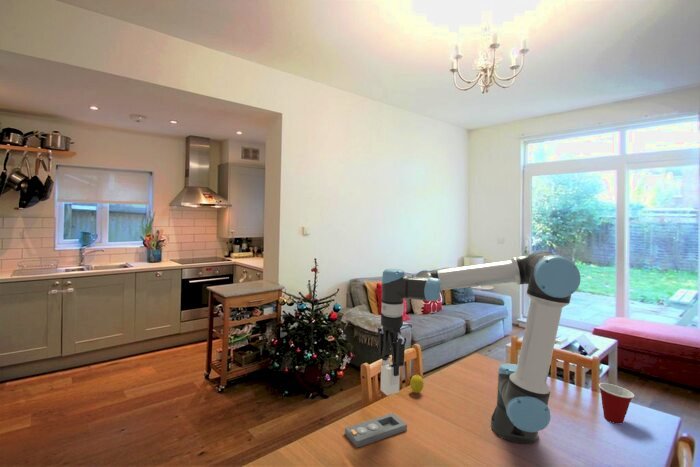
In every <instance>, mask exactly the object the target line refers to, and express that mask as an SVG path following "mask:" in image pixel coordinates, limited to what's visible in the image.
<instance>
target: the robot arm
mask: <svg viewBox="0 0 700 467" xmlns="http://www.w3.org/2000/svg"><path fill="white" fill-rule="evenodd" d="M507 283H509V284H510V283H515V284H516V285H527V290H526V295H527V296H528V298H529V300H530V302H529V308H528V312H527V316H526V321H525V327H524V330H523V331H524V332H523V336H522V341H521V345H520V350H519V355H518V360H517V364H516V363H502V364H500V365H499V366H498V372H497V374H498V375H497V376H498V378H497V395H496V396H497V397H496V406H495V408H494V410H493V412H492V415H491V418H490V428H491V430H492V431H493V432H494V433H495V434H496V435H497V436H498V437H500V438H502V439H504V440H506V441H509V442H512V443H515V444H519V445H520V444H522V445H528V444H529V445H530V444H533V443H535V442H536V441H537V440H538V437H539V436H538V435H539V431H544V430H545V429H546V428H547V427H548V426H549V424H550V422H551V418H552V416H551V410H550V408H549V406H548V404H549V400H550V395H551V391H552V390H551V387H550V385H548V383H547V380H548V377H549V372H550V367H551V363H552V358H553V354H554V353H553V352H554V347H555V343H556V340H557V334H558V331H559V330H558V329H559V324H560V321H561V316H562V315H561V314H562V310H563V308H564V307H566V306H568V305H570V303H571V298H572V295H573V294H574V293H576V291H577V290H578V288H579V287H580V285H581V273H580V270H579V268H578V266H577V265H576V264H575V263H574V262H573V261H572V260H571V259H569V258H567V257H566V256H563V255H560V254H555V253H553V252H547V251H540V252H534V253H530V254H523V255H519V256H512V258H511V259H510V260H503V261H495V262H487V263H481V264H473V265H465V266H457V267H449V268H442V269H437V270H436V269H434V270H426V269H423V270H420V271H419V272H417V274H415V276H409V275H408V276H407V275H406V274H405V271H404V270H403V269H398V268H386V269H384V270H383V271H382V278H381V309H380V310H381V315H380V326H382V327H378V328H377V332H378V356H379V357H380V358H381V360H382V363H381V365H383V364H388V363H389V362H392V365H391V378H390V385H395V384H398V376H399V367H400V368H401V367H404V365H405V349H406V348H405V347H406V342H407V337H403V336H402V332H401V328H402V327H403V325H404V316H403V315H404V307H405V306H404V303H405V302H404V299H406V300H407V299H408V300H416V301H417V300H418V301H427V302H431V301H433V302H436V301H437V302H438V301H439V300H440V298H441V291H448V290H453V289H454V290H455V289H465V288H473V287H474V288H475V287H482V286H491V285H493V286H494V285H501V284H507ZM390 354H391V356H390Z"/></svg>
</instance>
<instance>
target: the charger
mask: <svg viewBox="0 0 700 467" xmlns="http://www.w3.org/2000/svg"><path fill="white" fill-rule="evenodd" d="M382 364H383V363H382ZM382 364H381V365H380V366H381V368H380V391H381V392H382V393H383V394H385V395H386V396H390V395H394V394H398V393H400V378H401V377H400V376H401V375H400V374H401V373H400V372H401V371H400V370H401V366H400V367H399V376H398V384H395V385H390V378H391V365H392V361H390V362H389V363H388V364H383V365H382Z"/></svg>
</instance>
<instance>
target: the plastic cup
mask: <svg viewBox="0 0 700 467" xmlns="http://www.w3.org/2000/svg"><path fill="white" fill-rule="evenodd" d="M598 387H599V390H600V397H601V404H602V411H603V418H604V419H605V420H606V421H608V422H610V421H611V422H610V423H612V422H614V423H613V424H616V423H622V424H623V423H624V421H625V418H626V416H627V412H628V410H629V405H630V403H631V401H632V399H634V398H635V394H634V393H633V392H632V391H630V390H629V389H627V388H624V387H621V386H618V385H616V384H611V383H606V382H600V383H598Z"/></svg>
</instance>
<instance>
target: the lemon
mask: <svg viewBox="0 0 700 467" xmlns="http://www.w3.org/2000/svg"><path fill="white" fill-rule="evenodd" d="M409 384H410V385H409V387H410V389H411V390H412V391H413V392H414V393H415V394H418V393H420V392H422V391H423V389H424V380H423V377H422V376H420V375H419V374H415V375H413V376H412V377H411V378H410V383H409Z"/></svg>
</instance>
